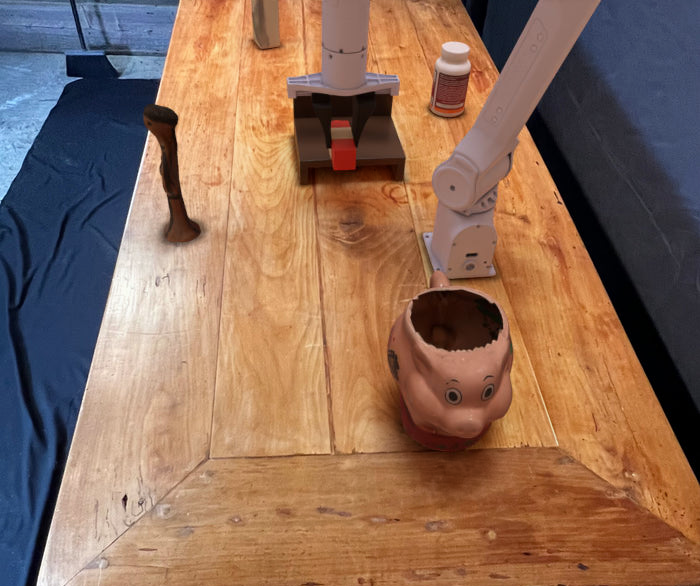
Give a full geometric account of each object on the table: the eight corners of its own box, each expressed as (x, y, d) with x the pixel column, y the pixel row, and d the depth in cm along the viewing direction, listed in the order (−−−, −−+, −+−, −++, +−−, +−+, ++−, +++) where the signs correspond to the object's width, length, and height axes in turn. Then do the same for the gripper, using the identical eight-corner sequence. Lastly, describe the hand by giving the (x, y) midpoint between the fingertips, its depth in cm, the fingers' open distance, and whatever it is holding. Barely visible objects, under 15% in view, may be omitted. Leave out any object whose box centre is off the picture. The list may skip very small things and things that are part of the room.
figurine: (166, 214, 89) (140, 90, 76) (202, 213, 89) (182, 90, 76) (162, 247, 84) (132, 120, 71) (200, 245, 84) (177, 119, 71)
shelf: (403, 180, 97) (409, 126, 90) (300, 184, 95) (298, 129, 89) (388, 134, 106) (392, 82, 100) (294, 137, 105) (292, 84, 98)
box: (252, 40, 130) (247, -29, 121) (272, 37, 132) (269, -31, 122) (261, 50, 127) (256, -20, 118) (281, 47, 129) (278, -23, 119)
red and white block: (355, 170, 86) (356, 149, 84) (333, 171, 86) (333, 150, 83) (346, 135, 92) (347, 115, 90) (325, 136, 92) (326, 116, 89)
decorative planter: (365, 342, 74) (372, 248, 63) (464, 332, 75) (487, 239, 65) (403, 491, 60) (420, 404, 50) (522, 475, 62) (563, 387, 52)
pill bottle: (470, 113, 113) (482, 50, 104) (443, 121, 110) (453, 57, 102) (448, 99, 116) (458, 36, 108) (422, 106, 114) (430, 44, 105)
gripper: (396, 30, 81) (387, 128, 91) (283, 31, 79) (287, 131, 89) (407, 53, 76) (396, 154, 86) (287, 55, 74) (291, 158, 84)
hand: (341, 144), depth 87 cm, fingers closed on red and white block, 3 cm apart
